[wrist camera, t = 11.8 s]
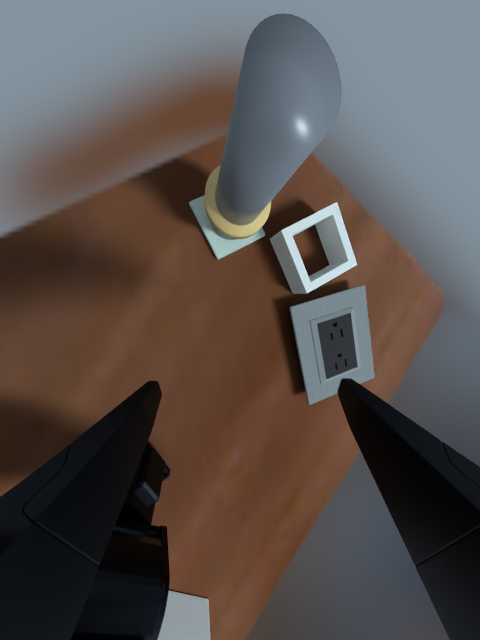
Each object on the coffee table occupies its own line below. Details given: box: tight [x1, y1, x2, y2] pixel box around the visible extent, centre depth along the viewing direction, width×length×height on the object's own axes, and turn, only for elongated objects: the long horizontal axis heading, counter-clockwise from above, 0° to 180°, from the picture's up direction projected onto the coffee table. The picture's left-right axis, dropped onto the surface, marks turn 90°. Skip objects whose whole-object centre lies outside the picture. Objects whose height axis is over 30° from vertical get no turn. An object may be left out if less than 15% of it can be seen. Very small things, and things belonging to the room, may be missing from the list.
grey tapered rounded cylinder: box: [204, 14, 341, 240], centre depth 13 cm, size 6×6×13 cm
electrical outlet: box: [289, 285, 375, 405], centre depth 24 cm, size 13×10×2 cm
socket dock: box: [270, 202, 357, 294], centre depth 21 cm, size 7×7×3 cm
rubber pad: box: [189, 196, 265, 260], centre depth 20 cm, size 6×6×1 cm
